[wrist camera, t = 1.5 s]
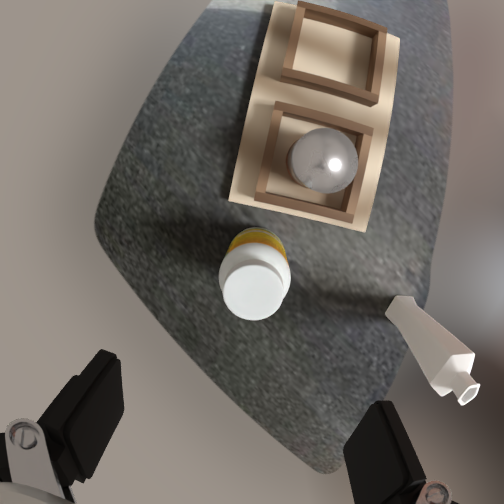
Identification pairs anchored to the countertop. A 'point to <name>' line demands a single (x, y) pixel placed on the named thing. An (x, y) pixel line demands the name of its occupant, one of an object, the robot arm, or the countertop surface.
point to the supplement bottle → (254, 274)
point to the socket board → (317, 109)
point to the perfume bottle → (435, 349)
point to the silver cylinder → (322, 160)
